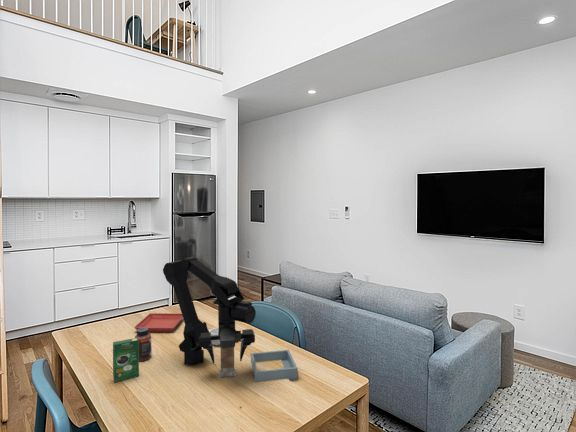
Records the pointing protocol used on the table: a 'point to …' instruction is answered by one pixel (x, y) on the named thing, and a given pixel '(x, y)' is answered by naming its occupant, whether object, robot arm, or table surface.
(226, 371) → the strut
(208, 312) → the table surface
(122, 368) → the coffee box
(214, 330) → the teacup
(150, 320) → the plant saucer
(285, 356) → the bin
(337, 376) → the table surface
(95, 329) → the table surface
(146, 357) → the supplement bottle
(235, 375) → the knob on square plate
